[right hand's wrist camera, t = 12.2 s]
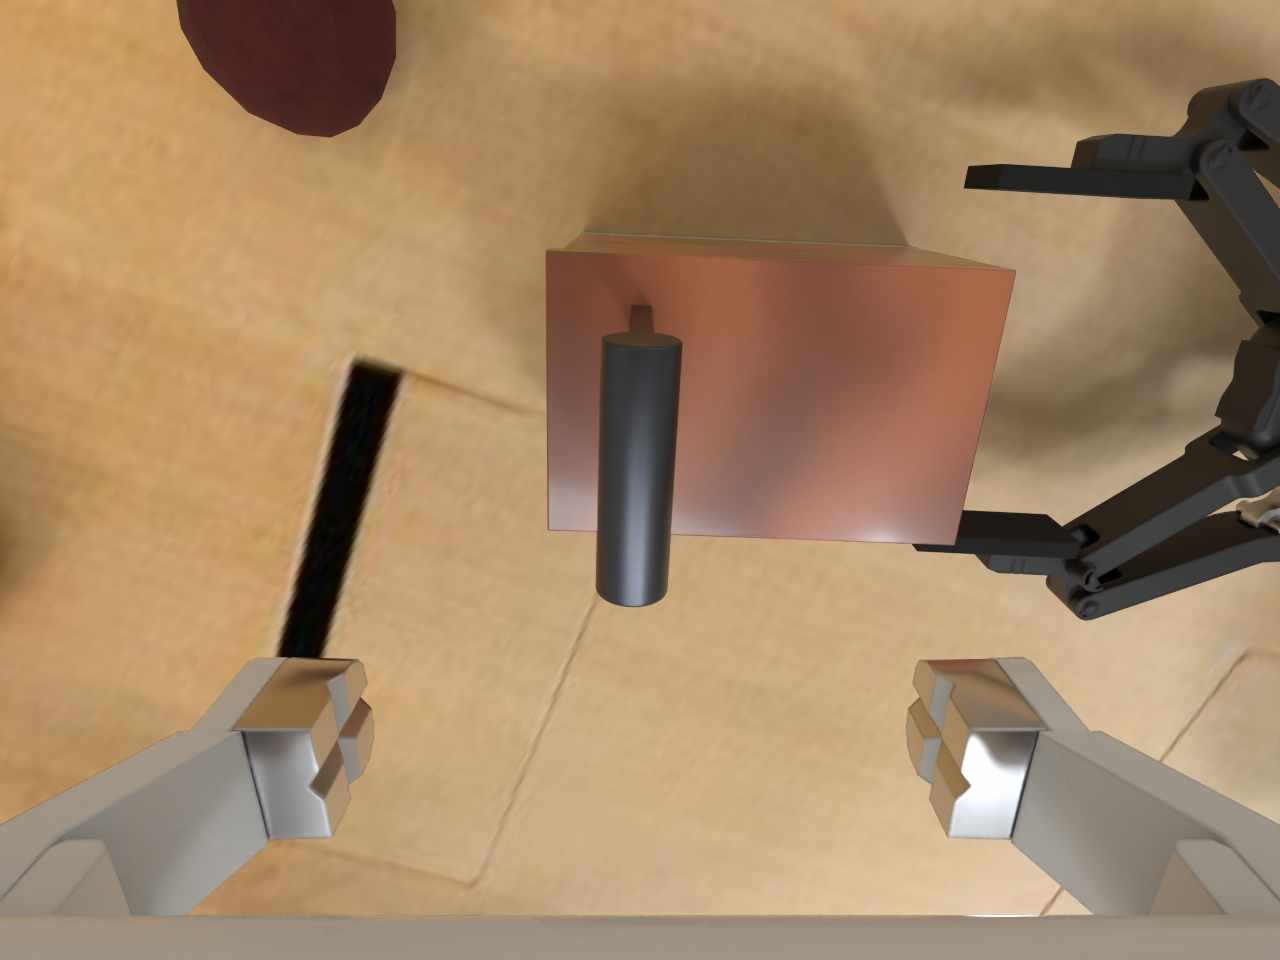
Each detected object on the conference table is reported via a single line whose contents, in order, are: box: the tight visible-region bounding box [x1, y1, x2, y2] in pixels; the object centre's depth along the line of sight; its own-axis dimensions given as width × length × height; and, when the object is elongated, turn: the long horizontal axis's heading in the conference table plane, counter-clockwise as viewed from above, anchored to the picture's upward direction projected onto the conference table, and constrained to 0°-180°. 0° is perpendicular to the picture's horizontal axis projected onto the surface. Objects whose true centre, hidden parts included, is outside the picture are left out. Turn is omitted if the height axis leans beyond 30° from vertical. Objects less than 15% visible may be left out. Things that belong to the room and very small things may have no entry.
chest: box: [564, 232, 998, 267], centre depth 30 cm, size 15×10×9 cm
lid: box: [546, 248, 1016, 607], centre depth 22 cm, size 15×10×8 cm, turn 88°
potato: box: [176, 0, 396, 137], centre depth 26 cm, size 7×8×7 cm
